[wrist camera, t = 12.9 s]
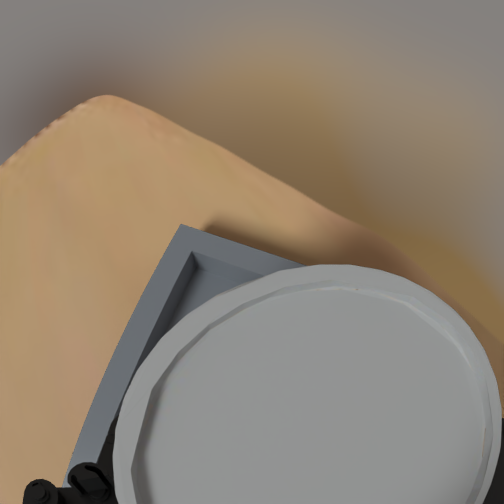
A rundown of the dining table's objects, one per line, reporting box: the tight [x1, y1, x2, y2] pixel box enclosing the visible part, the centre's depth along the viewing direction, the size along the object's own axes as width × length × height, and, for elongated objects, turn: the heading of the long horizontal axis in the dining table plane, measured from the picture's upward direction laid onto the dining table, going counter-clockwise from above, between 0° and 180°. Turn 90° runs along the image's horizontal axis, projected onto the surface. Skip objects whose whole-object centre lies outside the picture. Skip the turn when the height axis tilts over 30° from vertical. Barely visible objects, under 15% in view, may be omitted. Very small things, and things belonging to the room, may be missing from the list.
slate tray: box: [62, 224, 307, 487], centre depth 15 cm, size 20×20×3 cm
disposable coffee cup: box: [113, 265, 502, 504], centre depth 9 cm, size 10×10×12 cm
